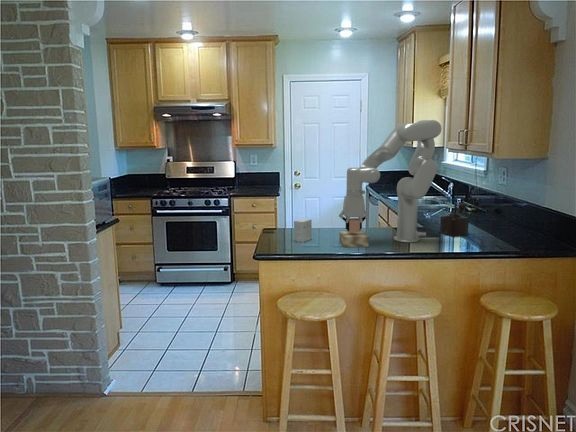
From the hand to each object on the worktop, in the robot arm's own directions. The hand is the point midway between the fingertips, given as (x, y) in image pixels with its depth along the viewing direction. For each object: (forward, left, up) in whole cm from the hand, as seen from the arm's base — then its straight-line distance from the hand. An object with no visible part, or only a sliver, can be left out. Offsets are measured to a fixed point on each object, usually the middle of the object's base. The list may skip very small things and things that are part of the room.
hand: (353, 230), depth 225 cm
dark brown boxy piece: (-57, -12, -7) cm, 59 cm away
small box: (+24, -11, -7) cm, 27 cm away
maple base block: (0, 0, -7) cm, 7 cm away
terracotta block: (0, 0, -1) cm, 1 cm away
